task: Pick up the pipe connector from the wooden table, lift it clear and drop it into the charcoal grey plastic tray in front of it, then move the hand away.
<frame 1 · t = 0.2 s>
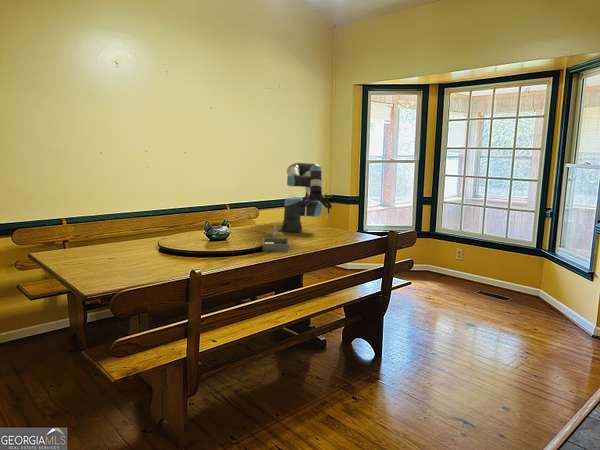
hand: (316, 217, 282), 15 cm above the table, tool tilted 35°, fingers open, 13 cm apart
tray: (275, 247, 263), on the table
pipe connector: (274, 241, 279), on the table
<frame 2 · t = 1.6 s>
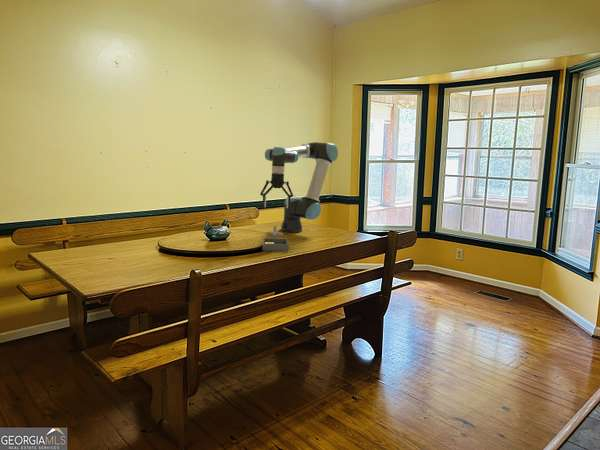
hand: (276, 207, 275), 21 cm above the table, tool pointing down, fingers open, 13 cm apart
nothing on the table moved.
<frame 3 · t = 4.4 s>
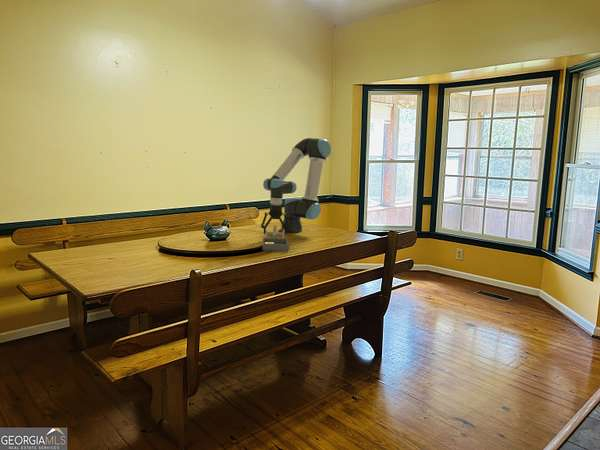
hand: (274, 239, 279), 1 cm above the table, tool pointing down, fingers closed on pipe connector, 10 cm apart
pipe connector: (274, 241, 279), on the table, touching gripper
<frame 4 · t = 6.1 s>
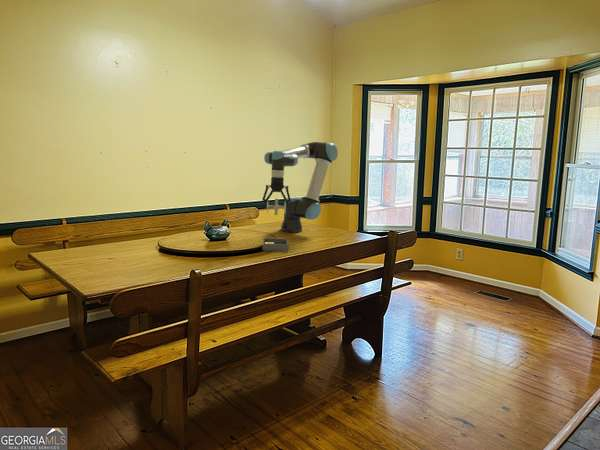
hand: (276, 212, 275), 18 cm above the table, tool pointing down, fingers closed on pipe connector, 10 cm apart
pipe connector: (276, 215, 276), point 17 cm above the table, touching gripper
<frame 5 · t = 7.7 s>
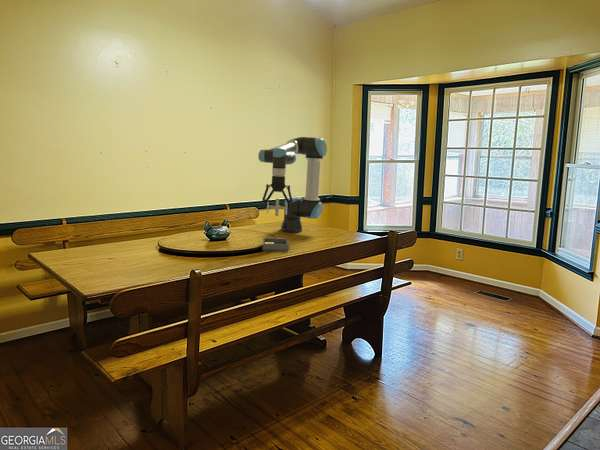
hand: (276, 213, 259), 21 cm above the table, tool pointing down, fingers closed on pipe connector, 10 cm apart
pipe connector: (276, 216, 259), point 19 cm above the table, touching gripper
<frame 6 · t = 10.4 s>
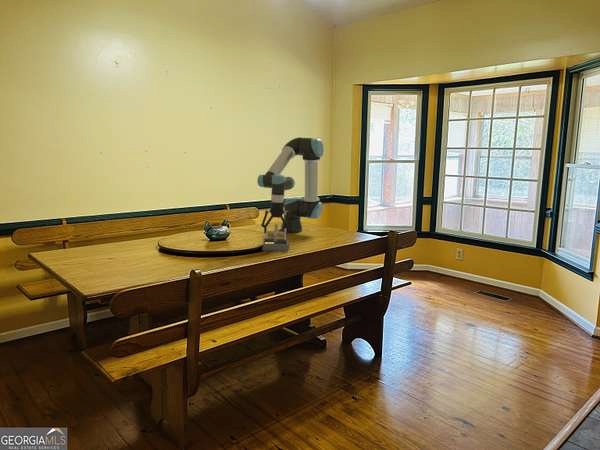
hand: (275, 238, 262), 5 cm above the table, tool pointing down, fingers closed on pipe connector, 10 cm apart
pipe connector: (275, 241, 263), point 4 cm above the table, touching gripper
when the fingers open (5 cm above the table, at t = 11.4 s): pipe connector drops 3 cm, resting on tray.
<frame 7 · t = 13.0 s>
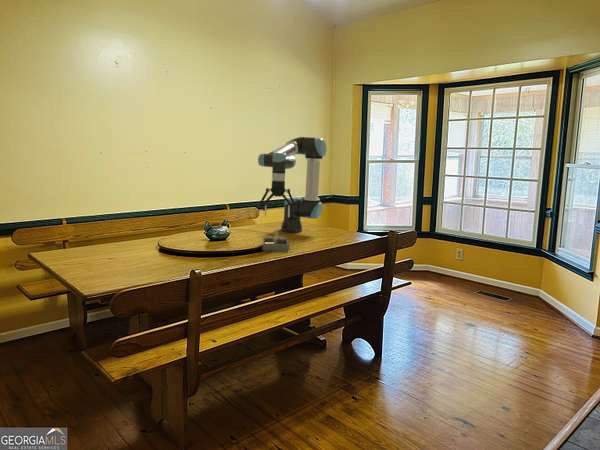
hand: (277, 216, 260), 19 cm above the table, tool pointing down, fingers open, 13 cm apart
pipe connector: (275, 246, 263), point 1 cm above the table, touching tray
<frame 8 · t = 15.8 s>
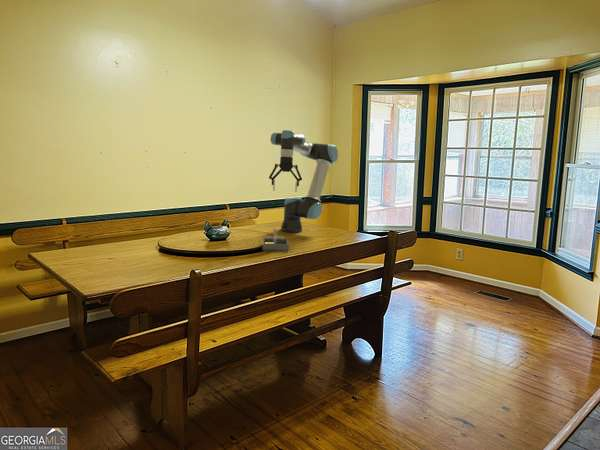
hand: (284, 191, 274), 32 cm above the table, tool pointing down, fingers open, 13 cm apart
nothing on the table moved.
at the end: pipe connector inside the target area on the tray (0.1 cm from its centre), point 0.9 cm above the tray's base; the gripper is holding nothing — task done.
